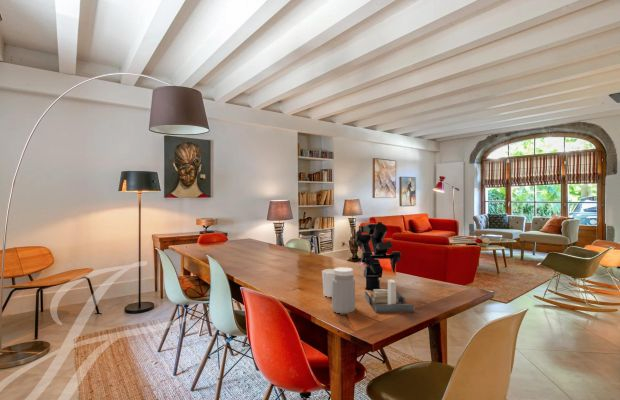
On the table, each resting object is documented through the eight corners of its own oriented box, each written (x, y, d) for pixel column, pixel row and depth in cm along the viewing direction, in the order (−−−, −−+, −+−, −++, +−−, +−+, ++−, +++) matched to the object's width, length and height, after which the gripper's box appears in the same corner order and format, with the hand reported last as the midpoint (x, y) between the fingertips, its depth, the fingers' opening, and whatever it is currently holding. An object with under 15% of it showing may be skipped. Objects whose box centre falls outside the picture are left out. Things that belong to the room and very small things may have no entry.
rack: (364, 299, 156) (364, 291, 156) (398, 298, 157) (398, 290, 157) (375, 315, 136) (375, 305, 136) (413, 314, 137) (413, 304, 137)
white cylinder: (344, 293, 165) (344, 269, 165) (337, 299, 156) (337, 274, 156) (326, 291, 169) (326, 268, 169) (318, 296, 160) (318, 272, 160)
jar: (358, 313, 137) (358, 271, 137) (336, 316, 134) (336, 272, 134) (349, 306, 146) (349, 266, 146) (328, 308, 144) (328, 267, 143)
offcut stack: (370, 298, 155) (370, 289, 154) (393, 297, 155) (393, 288, 155) (374, 302, 148) (374, 293, 148) (398, 302, 148) (398, 293, 148)
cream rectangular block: (387, 307, 142) (387, 279, 142) (392, 307, 142) (392, 279, 142) (390, 310, 138) (390, 282, 138) (395, 310, 138) (396, 282, 138)
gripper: (362, 235, 157) (368, 263, 147) (400, 235, 159) (408, 263, 148) (358, 248, 165) (363, 276, 155) (394, 247, 167) (402, 275, 157)
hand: (384, 272), depth 153 cm, fingers open, 9 cm apart
